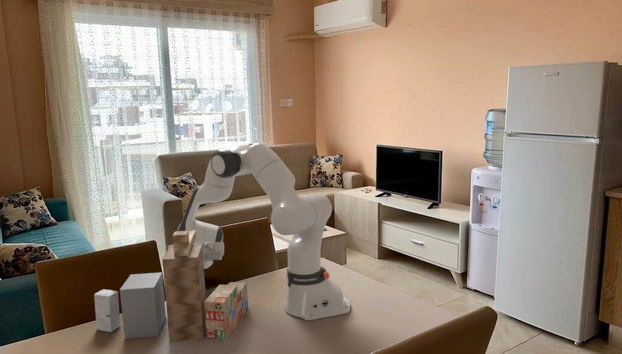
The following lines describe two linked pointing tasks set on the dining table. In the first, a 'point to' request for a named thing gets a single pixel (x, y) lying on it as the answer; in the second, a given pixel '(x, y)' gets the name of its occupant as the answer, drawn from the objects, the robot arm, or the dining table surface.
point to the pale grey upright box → (143, 305)
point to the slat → (183, 242)
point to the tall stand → (185, 294)
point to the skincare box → (107, 310)
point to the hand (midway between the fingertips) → (193, 245)
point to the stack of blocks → (225, 309)
